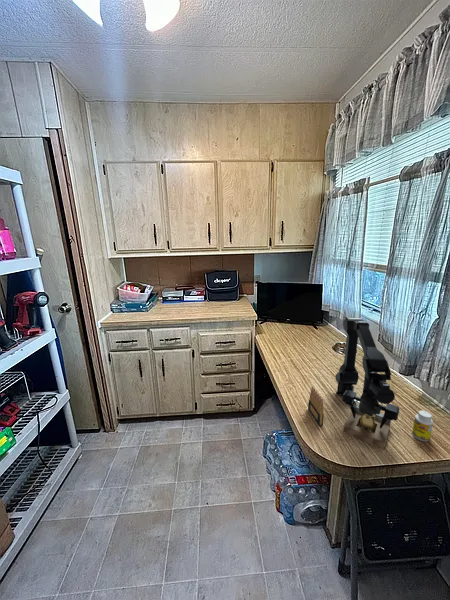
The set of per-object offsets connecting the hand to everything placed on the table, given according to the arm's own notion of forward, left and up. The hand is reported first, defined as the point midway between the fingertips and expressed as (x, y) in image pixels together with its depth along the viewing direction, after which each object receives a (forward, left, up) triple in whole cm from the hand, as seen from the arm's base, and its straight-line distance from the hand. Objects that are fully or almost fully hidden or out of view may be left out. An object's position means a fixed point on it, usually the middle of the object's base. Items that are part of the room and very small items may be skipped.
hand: (367, 422), depth 102 cm
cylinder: (0, 0, -4) cm, 4 cm away
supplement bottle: (+17, +10, -4) cm, 20 cm away
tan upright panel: (-19, -4, -4) cm, 20 cm away
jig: (0, 0, -4) cm, 4 cm away
